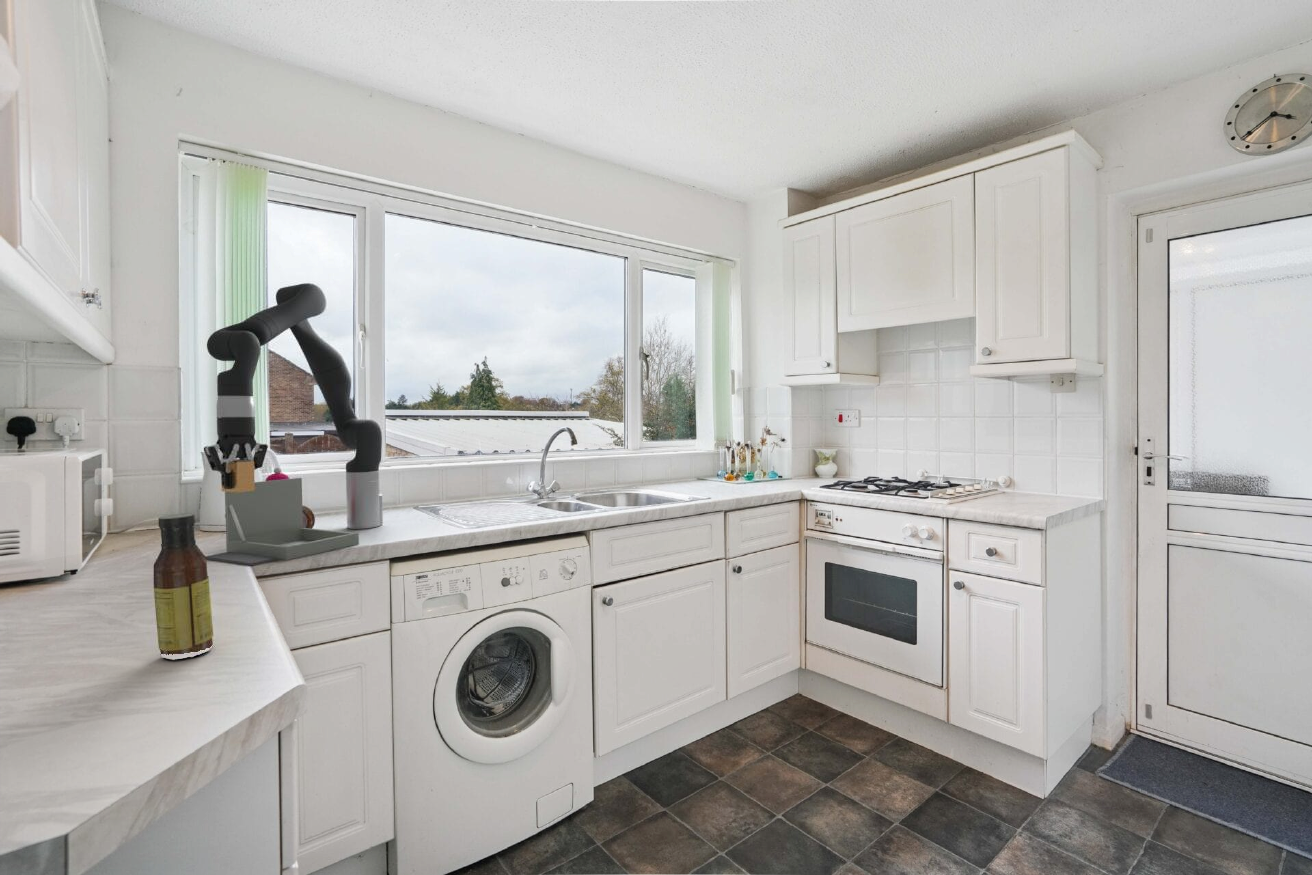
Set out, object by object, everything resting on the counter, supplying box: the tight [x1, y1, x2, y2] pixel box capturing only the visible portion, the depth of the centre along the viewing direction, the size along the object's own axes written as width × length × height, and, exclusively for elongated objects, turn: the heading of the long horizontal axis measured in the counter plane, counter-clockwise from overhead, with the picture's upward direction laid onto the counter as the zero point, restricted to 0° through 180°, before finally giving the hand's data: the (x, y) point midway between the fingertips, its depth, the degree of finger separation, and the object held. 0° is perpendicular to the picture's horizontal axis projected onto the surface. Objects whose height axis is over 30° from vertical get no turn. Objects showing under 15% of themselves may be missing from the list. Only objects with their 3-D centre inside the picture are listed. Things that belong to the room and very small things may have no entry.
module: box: [221, 458, 256, 493], centre depth 148 cm, size 4×6×7 cm, turn 65°
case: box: [224, 477, 360, 561], centre depth 161 cm, size 20×23×17 cm
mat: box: [205, 551, 278, 567], centre depth 148 cm, size 6×18×1 cm, turn 65°
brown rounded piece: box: [302, 505, 316, 529], centre depth 182 cm, size 15×3×8 cm, turn 86°
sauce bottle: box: [152, 512, 214, 655], centre depth 88 cm, size 7×6×20 cm
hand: (238, 487), depth 148 cm, fingers closed on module, 4 cm apart
